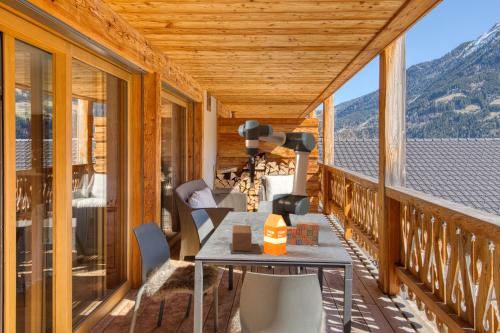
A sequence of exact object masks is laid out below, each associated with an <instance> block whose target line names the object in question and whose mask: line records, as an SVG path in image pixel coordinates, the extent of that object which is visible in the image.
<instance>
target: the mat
mask: <svg viewBox="0 0 500 333" xmlns="http://www.w3.org/2000/svg"><path fill="white" fill-rule="evenodd" d="M229 250H230V251H229V253H230V255H262V254H263V252H262V250H261V248H260V244H259V243H252V244H251V251H232V242H231V243H229Z"/></svg>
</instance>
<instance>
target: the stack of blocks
mask: <svg viewBox="0 0 500 333" xmlns="http://www.w3.org/2000/svg"><path fill="white" fill-rule="evenodd" d="M319 232H320V223H318V222H307V221H306V222H305V221H297V223H296V226H292V227H289V226H287V228H286V245H290V244H291V245H293V246H304V245H318V246H319V234H320V233H319Z"/></svg>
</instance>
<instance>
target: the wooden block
mask: <svg viewBox="0 0 500 333" xmlns="http://www.w3.org/2000/svg"><path fill="white" fill-rule="evenodd" d="M231 230H232V233H231V236H232V237H231V243H232V251H251V244H253V242H252V238H253V237H252V235H253V234H252V228H251V225H233V226H232V229H231Z"/></svg>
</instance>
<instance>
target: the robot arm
mask: <svg viewBox="0 0 500 333" xmlns="http://www.w3.org/2000/svg"><path fill="white" fill-rule="evenodd" d="M237 130H238V132H237V133H238V134H239V136H240V137H243V138H245V141H244V144H245V155H249V157H248V159H247V160H248V170H249V171H248V172H249V175H248V178H249V189H255V177H256V161H257V158H256V157H255V156H256V155H259V151H260V150H259V149H260V148H259V147H260V142H259V141H265V142H267V143H270V144H271V143H272V144H275V146H278V147H281V148H284V149H288V150H292V151H293V153H294V155H295V156H294V157H295V158H294V168H293V178H292V179H293V180H292V191H291V192H290V193H287V192H285V193H276V194H274V195H273V196H272V200H271V201H272V203H271V204H272V206H271V207H272V208H271V214H275V215H280V216H282V218H283V220H284V222H285V224H286V226H289V227H293V225H292V221H291V218H290V215H295V216H305V215H307V214H308V212H309V211H310V209H311V200H310V198H308V194H307V193H306V190H307V178H308V168H309V167H308V166H309V158H310V157H309V156H310V155H312V151H313V150H315V148H316V146H317V140H316V136H314V134H313V133H312V132H308V131H290V132H287V131H286V132H284V131H274V127H273V126H272V125H271V124H269V123H263V124H262V123H260V122H259V121H258V120H254V119H253V120H251V119H250V120H246V121H245V124H241V125H240V126H239V127H238V129H237Z"/></svg>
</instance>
